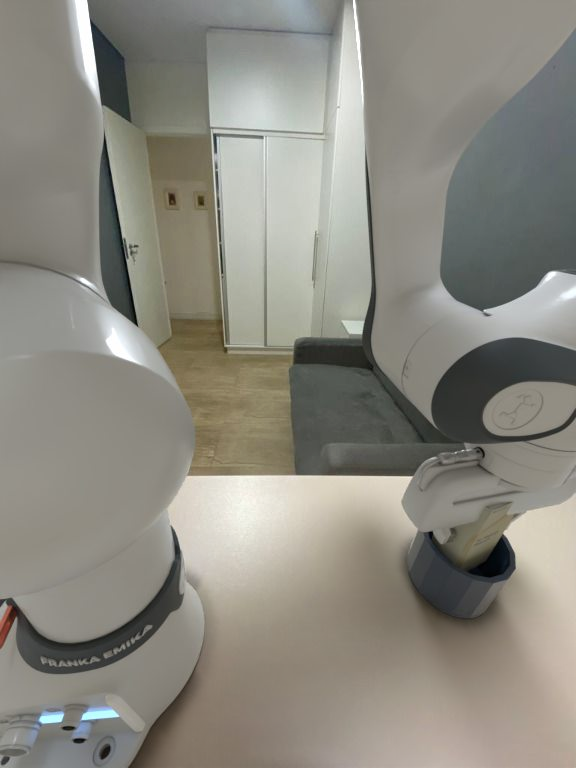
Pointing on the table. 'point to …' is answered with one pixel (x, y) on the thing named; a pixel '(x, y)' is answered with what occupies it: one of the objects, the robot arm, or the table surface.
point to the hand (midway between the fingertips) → (469, 531)
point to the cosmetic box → (476, 538)
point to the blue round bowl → (458, 577)
